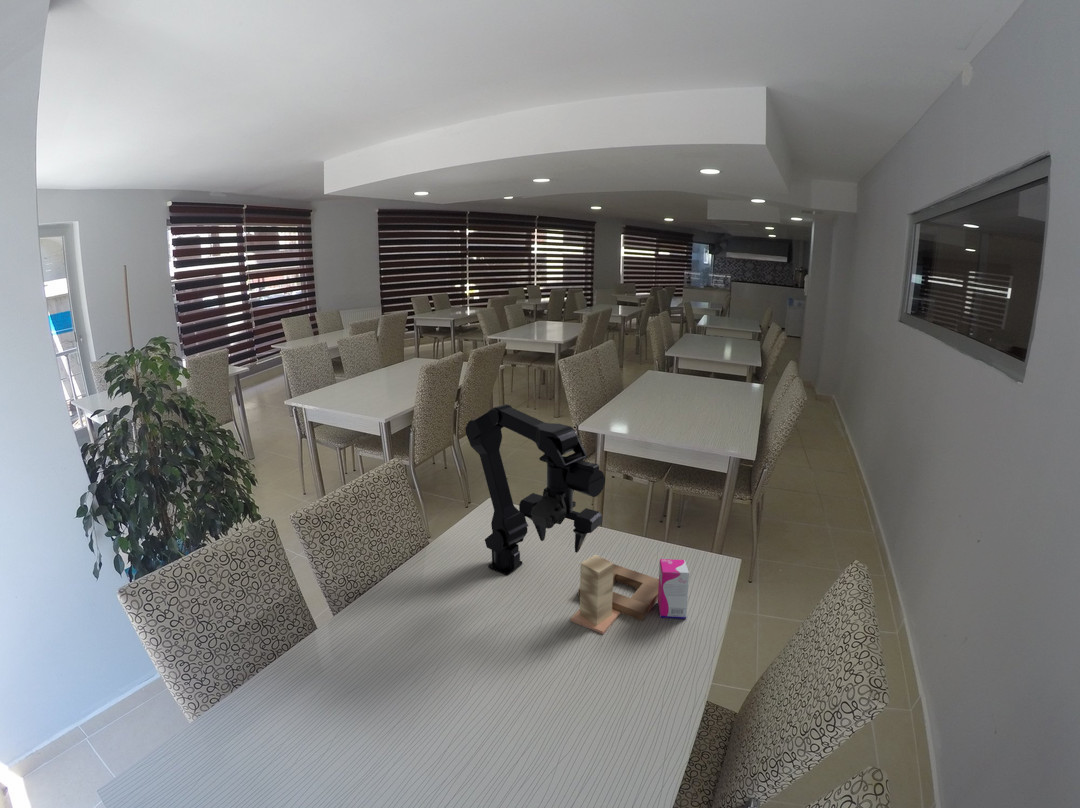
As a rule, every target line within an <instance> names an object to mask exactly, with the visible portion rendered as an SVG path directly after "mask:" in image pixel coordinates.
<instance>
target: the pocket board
mask: <svg viewBox="0 0 1080 808" xmlns="http://www.w3.org/2000/svg"><path fill="white" fill-rule="evenodd" d="M616 582H617V583H621V584H624V585H627V586H629V587H632V588H634V589H635V588H636V589H637V590H636V591H635V592H634V593H633V594H632V596H631V597H629V596H626V595H624V594H620V593H618V592H615V591H613V597H612V609H614V610H617V611H619V612H620V614H622V615H626V616H628V617H631V618H633V619H636V620H639V621H640V622H643V620H644V619H645V618H646V617H647V615H648V614H649V613H650V611H651V610H652V609H653V607H654V606H655V604H656V603H658V586H659V578H656V577H653V576H650V575H648V574H644V573H642V572H638V571H636V570H632V569H629V568H627V567H623V566H622V565H618V564H615V563H614V569H613V585H614V584H615V583H616ZM577 590H578V595H577V596H578V598H580V587H579V588H578V589H577Z"/></svg>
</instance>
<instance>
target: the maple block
mask: <svg viewBox="0 0 1080 808" xmlns="http://www.w3.org/2000/svg"><path fill="white" fill-rule="evenodd" d="M614 564H615V563H614V562H612V561H610V560H608V559H606V558H604V557H602V556H601V555H598V554H594V555H592V556H590V557H589V558H587V559H585V560H584V561H582V562H580V569H579V570H580V571H579V572H580V574H579V576H580V578H579V579H580V580H579V581H580V582H579V588H580V597H579V609H580V616H582V617H584V618H585V619H587V620H589V621H590V622H592V623H593V624H595V625H599V624H600V623H601V622H603V621H604V620H606V619H607V618H609V617H610V616H611V615H612V597H613V592H614V588H613V587H614V584H613V569H614Z"/></svg>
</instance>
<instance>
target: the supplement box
mask: <svg viewBox="0 0 1080 808" xmlns="http://www.w3.org/2000/svg"><path fill="white" fill-rule="evenodd" d="M658 567H659V570H658V579H659V586H658V601H657V607H658V612H659V613H658V614H659V618H661V619H678V620H687V613H688V611H687V610H688V600H689V599H688V598H689V597H688V594H689V582H690V581H689V580H690V571H689V568H688V566H687V562H686V560H685V559H668V558H660V559H659V566H658Z"/></svg>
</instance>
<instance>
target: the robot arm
mask: <svg viewBox="0 0 1080 808" xmlns="http://www.w3.org/2000/svg"><path fill="white" fill-rule="evenodd" d="M503 428H506V429H508V430H510V431H512V432H514V433H516V434H518V435H520V436H522V437H525V438H527V439H528V440H530V441H532V442H534V443H535V444H536V447H537V449H538V450H540V451H541V452H542V453H544V454H543V455H541V456H540V457H539V458H538V459H539V461H541V462H543V463H546V487H545V488H543V491H542V494H537V493H535V492H531V494H529V495H527V496H525V497H524V498H523V499H521V500H520V501H519V505H518V508H519V509H518V508H517V507H516V506H515V504H514V501H513V498H512V494H511V491H510V486H509V483H508V479H507V474H506V471H505V466H504V462H503V460H502V456H501V451H500V449H501V444H502V440H503V433H502V429H503ZM464 430H465V434H466V436H467V440H468V442H469V445H470V447H471V448H472V449H473V451H475V452H476V453H477V454H478V455H479V458H480V461H481V462H480V463H481V465H482V469H483V473H484V477H485V481H486V484H487V489H488V492H489V496H490V499H491V504H492V507H493V514H492V518H491V524H490V525H491V531H492V532H491V534H489V535H488V536H487V537H486V538H484V541H485V542H484V543H485V546H486V547H485V548H487V549H489V550H491V563H489V564H488V567H487V568H488V569H491V570H493V571H496V572H498V573H501V574H503V575H506V576H509V575H511V574H512V573H513V572H514V571H516V569H518V568H519V567H520V566H522V565H523V561H522V560H521V552H520V549H519V543H521V542H524V539H525V537H526V535H527V534H528V527H529V524H528V522H527V520H526V519H527V518H528V519H529V520H531V521H532V523H533V525H534V527H535V529H536V531H537V535H538V538H539V540H540V541H541V542H544V541H545V539H546V533H547V529H552V528H553V527H554V526H555V525H562V523H563V521H564V520H565V519H568V520H571V521H573V527H574V529H572V531H573V533H574V553H576V554H577V553H578V552H579V551H580V549H581V548H582V545H583V542H584V541H585V539H586V537H587V536H588V535H587V534H591V533H593V532H594V531H595V530H596V529H598V527H599V526H601V525H602V524H603V515H602V513H601V512H600V511H599V510H597V511H596V510H594V509H590V508H588V507H585V508H584V509H582V510H581V512H579V511H576V510H574V508H575V507H576V501H574V499H573V498H574V494H573V493H574V491H575V492H578V493H581V494H584V495H586V496H589V497H592V498H596V497H598V496H599V495H600V494H602V491H603V490H604V488H605V483H606V477H605V474H604V472H603V471H602V470H600V465H599V464H598V463H594V462H589V461H586V459H588V457H589V456H588V454H587V452H586V450H585V448H584V446H583V445H582V442H581V440H580V438H579V436H578V435H577V432H576V430H575V428H573V427H572V426H570V425H566V424H562V423H555V422H554V423H552V422H551V423H550V422H545V421H542V420H540V419H538V418H535V417H533V416H531V415H529V414H527V413H525V412H522V411H520V410H518V409H515V408H513V407H512V406H511V405H510V404H501V405H498V406H494V407H492V408H491V409H490V410H488V411H487V412H486V413H484V414H483V415H481V416H479V417H477V418H474V419H471V420H469V421H468V422H467V424H466V426H465V429H464ZM571 452H574V453H572V454H569V455H567V456H565V455H566V454H568V453H571Z"/></svg>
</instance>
